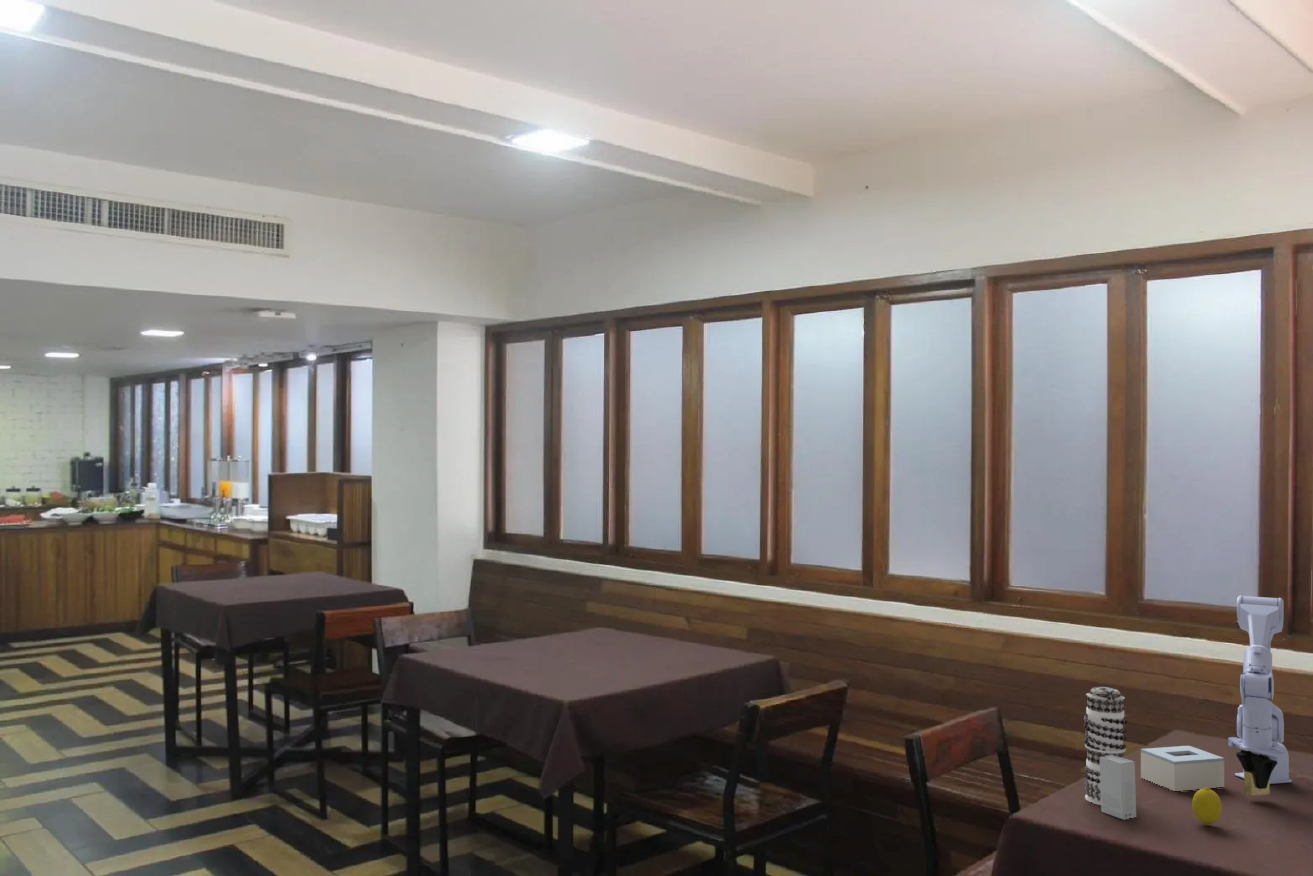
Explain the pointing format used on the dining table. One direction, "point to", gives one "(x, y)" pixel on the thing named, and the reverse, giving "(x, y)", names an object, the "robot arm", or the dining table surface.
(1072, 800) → the dining table surface
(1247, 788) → the tan wooden block
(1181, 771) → the tissue box
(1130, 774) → the skincare box
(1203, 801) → the lemon
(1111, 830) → the dining table surface
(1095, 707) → the decorative candle
